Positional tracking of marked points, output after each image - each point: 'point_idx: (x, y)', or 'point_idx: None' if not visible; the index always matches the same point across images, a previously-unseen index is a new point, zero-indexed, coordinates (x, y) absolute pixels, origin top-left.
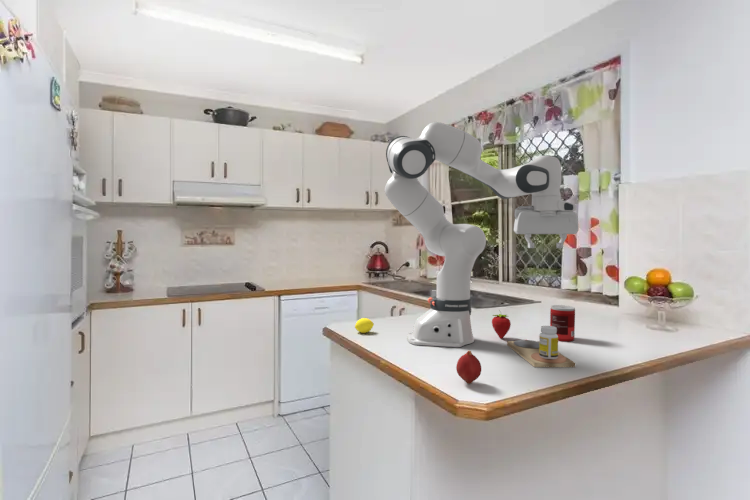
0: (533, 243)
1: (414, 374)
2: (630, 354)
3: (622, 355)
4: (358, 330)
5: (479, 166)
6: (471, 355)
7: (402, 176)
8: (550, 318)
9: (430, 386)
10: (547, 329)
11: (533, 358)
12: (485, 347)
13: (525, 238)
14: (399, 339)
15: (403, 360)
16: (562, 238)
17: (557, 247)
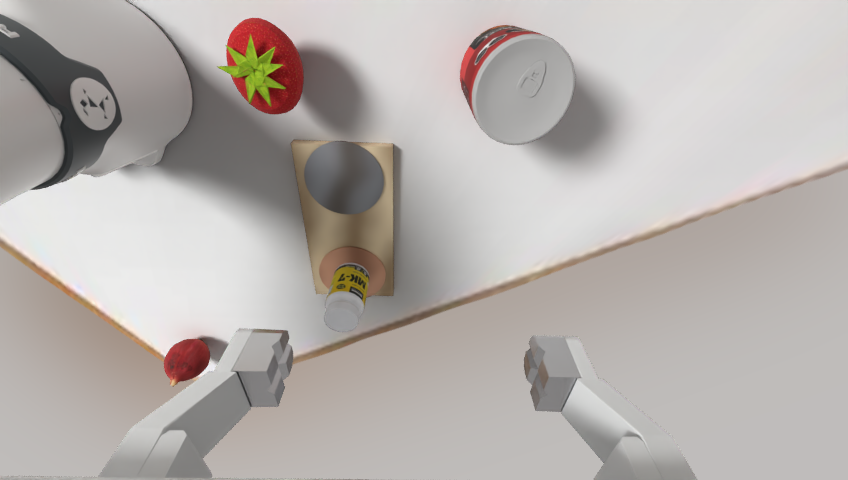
0: (271, 399)
1: (105, 311)
2: (566, 225)
3: (542, 231)
4: None
5: None
6: (180, 380)
7: None
8: (469, 70)
9: (145, 346)
10: (333, 328)
11: (320, 276)
12: (229, 161)
13: (152, 422)
14: None
15: (51, 249)
16: (612, 446)
17: (532, 348)
